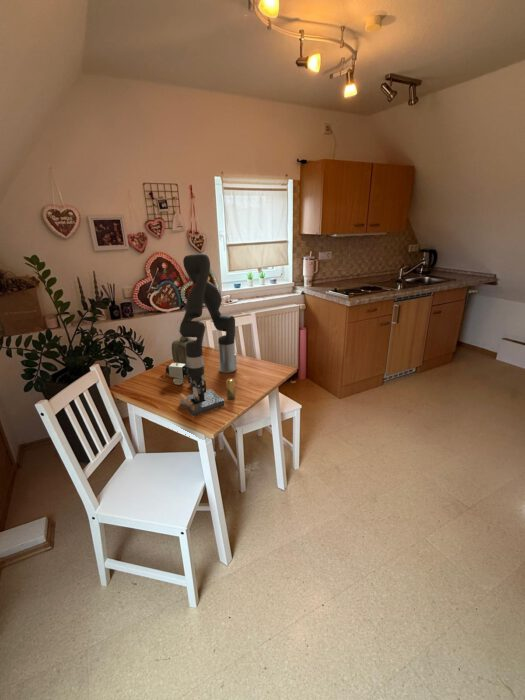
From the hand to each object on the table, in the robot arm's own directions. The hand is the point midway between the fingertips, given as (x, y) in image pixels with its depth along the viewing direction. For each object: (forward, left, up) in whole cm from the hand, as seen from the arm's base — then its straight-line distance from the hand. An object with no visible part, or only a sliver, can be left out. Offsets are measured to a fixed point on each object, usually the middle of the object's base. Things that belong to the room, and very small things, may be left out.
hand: (197, 396), depth 150 cm
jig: (-2, 0, -5) cm, 5 cm away
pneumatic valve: (-2, -28, -5) cm, 29 cm away
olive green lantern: (-13, -44, -5) cm, 46 cm away
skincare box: (-9, -20, -5) cm, 23 cm away
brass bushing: (-16, +3, -5) cm, 17 cm away
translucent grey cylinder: (0, 0, -5) cm, 5 cm away
